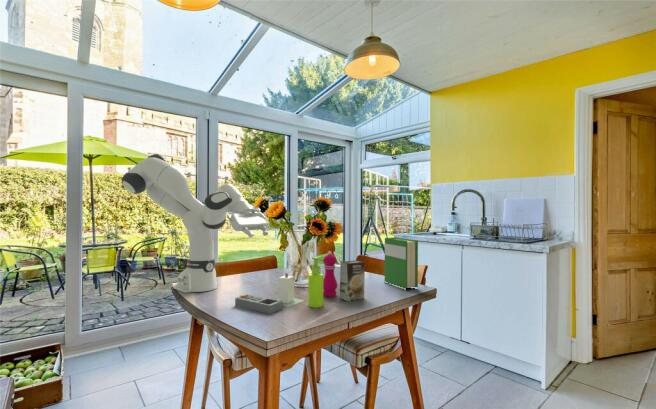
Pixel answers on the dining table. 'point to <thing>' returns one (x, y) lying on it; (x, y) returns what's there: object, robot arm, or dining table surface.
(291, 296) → the white pillar candle
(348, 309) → the dining table surface
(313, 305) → the soap dispenser
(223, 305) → the dining table surface
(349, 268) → the coffee box
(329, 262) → the pepper mill
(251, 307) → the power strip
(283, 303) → the rubber mat
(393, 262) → the hardback book
